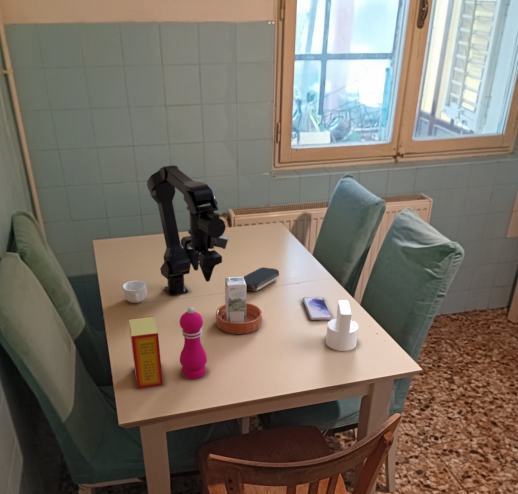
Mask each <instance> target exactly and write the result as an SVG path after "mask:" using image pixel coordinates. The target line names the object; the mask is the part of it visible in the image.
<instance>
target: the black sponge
mask: <svg viewBox="0 0 518 494" xmlns="http://www.w3.org/2000/svg"><path fill="white" fill-rule="evenodd" d="M243 277H244V280H245V283H246V290H248V291H252V292H257V291H260V290H262V289H263V288H264V287H266V286H268V285H269V284H271V283H273V282H274V281H277V280H278V279H279V277H280V271H279V269H276V268H272V267H271V268H270V267H263V266H262V267H259V268H258V269H256V270H254V271H252V272H249V273H248V274H246V275H244V276H243Z"/></svg>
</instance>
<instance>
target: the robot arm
mask: <svg viewBox="0 0 518 494" xmlns="http://www.w3.org/2000/svg"><path fill="white" fill-rule="evenodd" d="M146 187H147V189H148V191H149V194H150V197H151V199H153V200H154V201H155V202H156V204H157V207H158V208H157V209H158V212H159V217H160V222H161V227H162V232H163V237H164V242H165V246H166V248H165V251H164V254H163V262H162V265H161V267H160V268H159V269H160V274H161V276H162V277H164V278H165V279H167V280H166V282H167V286H164V290H165V291H166V292H167V293H168V294H169V296H176V295H180V294H185V293H189V289H188V288H187V287H186V286H185V275H189V274H190V271H191V266H192V268H193V270H194V271H198V270H199V268H200V269H201V273H202V276H203V277H204V280H205V282H208V283H209V282H210V281H211V277H212V274H213V272H214V268H215V267H216V266H219V265H220V264H222V263H223V256H222V255H221V254H220V253H219V252H217V251H216V249H215V248H220V249H222V250H226V249H227V245H228V242H229V238H228V237H226V236H225V235H224V234H225V231H226V224H225V221H224V220H223V219H222V218H220V214H219V213H218V212H216V211H219V206H218V201H217V199H216V197H215V195H214V192H213V190H212V188H211V187H210V186H209V184H207V183H204V182H202V181H195V180H193V179H192V178H191V177H189V176H188V175H187V174H185V173H184V172H183V171H182V170H180V169H179V167H178V166H177V165H175V164H172V165H164V166H162V167H160V168H159V170H157V171H155V172H154V173H152V174H151V175H150V176H149V178H148V179H147V180H146ZM176 189H177V191H179V192H180V193H181V194H182V195H183V201H184V202H185V204H186V205H187V207H186V210H188V211H189V229H188V230H187V233H188V236H183V237H182V238H180V234H179V229H178V225H177V224H178V223H177V218H176V212H175V208H174V204H173V203H174V202H173V201H174V198H175V195H176Z"/></svg>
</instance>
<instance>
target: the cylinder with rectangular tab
mask: <svg viewBox="0 0 518 494" xmlns="http://www.w3.org/2000/svg"><path fill="white" fill-rule="evenodd" d="M352 316H353V315H352V310H351V305H350V301H349V300H347V299H339V300H337V309H336V318H332V319H330V320H328V322H327V324H326V325H327V327H326V335H325V336H326V338H325V344H326V346H327V347H328V348H330V349H332V350H334V351H339V352H340V351H341V352H348V351H351V350H353V349H356V346H357V341H358V334H359V324H358V323H357V322H356V321H355V320H352Z"/></svg>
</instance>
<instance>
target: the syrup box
mask: <svg viewBox="0 0 518 494" xmlns="http://www.w3.org/2000/svg"><path fill="white" fill-rule="evenodd" d="M224 291H225V292H224V293H225V296H224V297H225V300H224V301H225V304H226V320H227V321H228V322H233V323H246V303H247V289H246V283H245V280H244V276H229V277H224Z"/></svg>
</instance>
